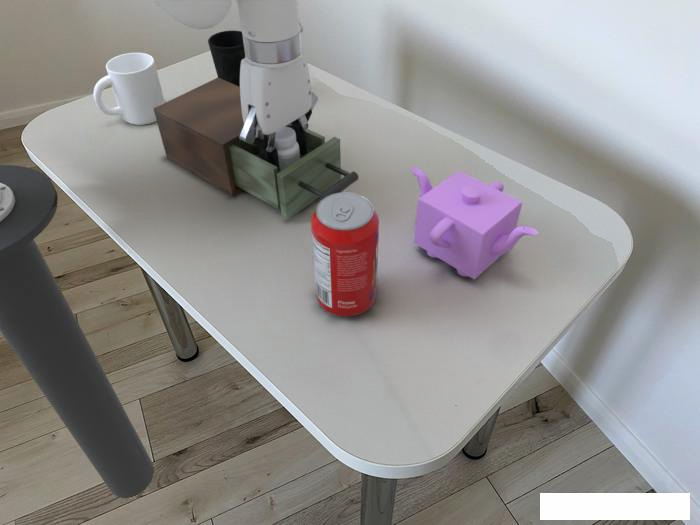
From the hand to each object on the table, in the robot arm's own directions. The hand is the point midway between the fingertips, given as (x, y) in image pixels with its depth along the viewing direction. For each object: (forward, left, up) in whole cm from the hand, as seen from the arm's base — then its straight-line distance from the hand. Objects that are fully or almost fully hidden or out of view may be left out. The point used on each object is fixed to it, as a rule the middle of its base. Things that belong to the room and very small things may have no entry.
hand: (284, 159), depth 88 cm
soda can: (-12, -22, -6) cm, 26 cm away
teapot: (+5, -29, -6) cm, 30 cm away
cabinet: (0, +14, -6) cm, 15 cm away
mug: (-2, +38, -6) cm, 38 cm away
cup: (+15, +28, -6) cm, 32 cm away
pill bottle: (0, 0, -4) cm, 4 cm away
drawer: (0, -1, -5) cm, 5 cm away
